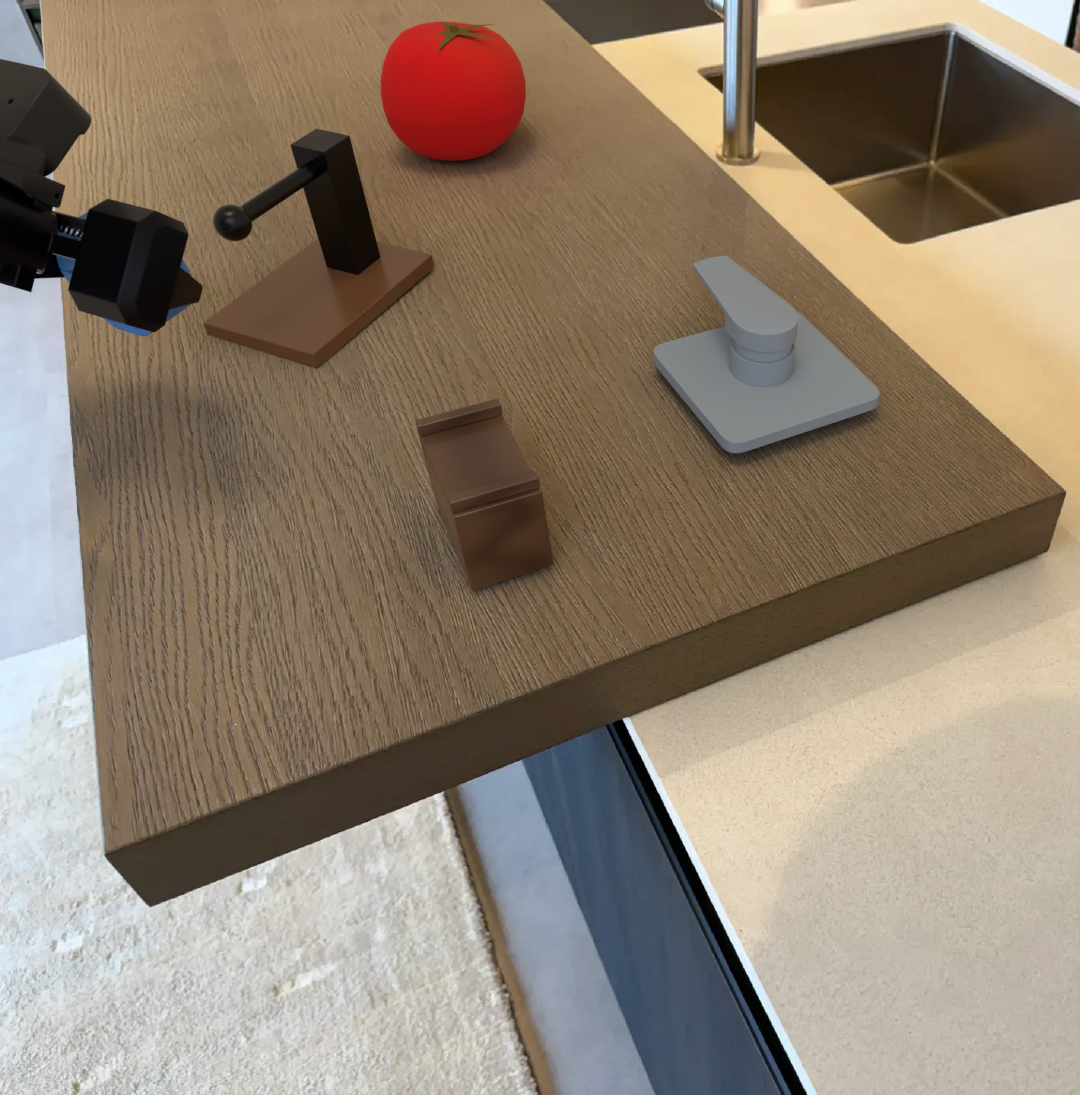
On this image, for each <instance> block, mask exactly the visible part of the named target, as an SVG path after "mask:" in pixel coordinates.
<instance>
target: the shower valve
mask: <svg viewBox="0 0 1080 1095" xmlns="http://www.w3.org/2000/svg"><path fill="white" fill-rule="evenodd" d="M692 269H693V271H694V272H695V274H696V275H697V276H698V278H699V279H700V281H701V282H702V284H703V285H704V286H705V288H706V289H707V291H708V293H710V295H711V297H713V299H714V301H715V302H716V303H717V304H718V306H719V307H720V309H721V310H722V312H723V314H724V325H723V326H720V327H716V328H713V329H709V330H705V331H701V332H698V333H694V334H691V335H687V336H683V337H680V338H675V339H672V340H668V341H665V342H662V343H659V344H658V345H656V346H655V347H654V348H653V351H652V354H653V358H652V359H653V364H654V366H655V367H656V369H657V370H658V371H659V372H660V374H661V375H662V376H663V377H664V378H665V379H666V381H667V382H668V383H669V385H671V387H672V389H674V391H675V392H676V393H677V394H678V395H679V397H680V398H681V400H683V401H684V403H685V404H686V406H688V408H689V409H690V410H691V411H692V413H693V414H694V415H695V416H696V417H697V419H698V420H699V421H700V423H701V424H702V425H703V426H704V427H705V429H706V430H707V431H708V432H709V433H710V435H711V436H712V437H713V438H714V440H715V441H716V442H717V443H718V445H719V446H720V447H721V448H722V449H723V450H724V451H726V452H728V453H730V454H742V453H746V452H750V451H752V450H756V449H758V448H762V447H764V446H767V445H771V444H774V443H777V442H779V441H783V440H786V439H789V438H793V437H795V436H798V435H800V434H804V433H806V432H809V431H813V430H817V429H819V428H822V427H826V426H828V425H831V424H835V423H838V422H840V421H843V420H847V419H850V418H852V417H855V416H859V415H861V414H865V413H868V412H870V411H873V410H875V409H876V408H877V407H878V405H879V401H880V395H881V393H880V390H879V388H878V387H877V386H876V385H875V384H874V382H872V381H871V380H870V379H869V378H868V377H867V376H866V375H865V374H864V373H863V372H862V371H861V370H860V369H859V368H858V367H857V366H856V365H855V364H853V362H852V361H850V360H849V359H848V357H847V356H845V355H844V354H843V353H842V352H841V351H840V349H838V348H837V347H836V346H835V345H834V344H833V342H831V341H830V340H829V339H828V338H827V337H826V336H825V335H823V334H822V332H820V330H818V328H817V327H816V326H814V325H813V324H812V323H811V322H810V321H809V320H808V319H807V318H806V317H805V316H804V315H803V314H802V313H801V312H799V311H797V310H796V309H795V307H794V306H793V305H791V303H789V302H788V301H787V300H786V299H784V298H782V297H781V296H780V295H778V294H777V293H776V292H775V291H773V290H772V289H771V288H769V287H768V286H767V285H765V284H764V283H763V282H762V281H760V280H759V279H758V278H756V277H755V276H754V275H753V274H751V273H750V272H749V271H747V270H746V269H744V268H743V266H741V265H740V264H738V263H737V262H735V261H734V260H733V259H732V258H731V257H729V256H728V255H718V256H712V257H708V258H704V259H702V260H698V261H696V262H694V263H692Z"/></svg>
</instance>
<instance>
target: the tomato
mask: <svg viewBox="0 0 1080 1095" xmlns="http://www.w3.org/2000/svg"><path fill="white" fill-rule="evenodd" d="M494 25H495V23H488V24H472V23H467V22H459V21H458V22H457V21H430V22H423V23H420V24H416V25H413V26H411V27H409V28H407V29H404V30H403V31H401V32H400V33H399V34H398V36H397V37H396V38H395V39H394V40H393V41H392V43H391V44H390V45H389V47H388V49H387V52H386V55H385V57H384V60H383V64H382V69H381V74H380V98H381V104H382V109H383V113H384V115H385V118H386V121H387V123H388V125H389V128H390V129H391V130H392V132H393V133H394V135H395V136H396V137H397V139H398V140H399V141H400V142H401V143H402V144H404V145H405V146H406V147H407V148H408V149H410V151H412V152H414V153H416V154H418V155H421V156H422V157H425V158H428V159H432V160H437V161H449V162H450V161H452V162H455V161H468V160H473V159H476V158H480V157H483V156H485V155H488V154H489V153H491V152H493V151H494V150H496V149H497V148H499V147H500V146H501V145H503V144H504V143H505V141H507V140H508V139H509V138H510V137H511V135H512V134H513V133H514V132H515V131H516V129H517V127H519V124H520V122H521V120H522V118H523V115H524V112H525V107H526V97H527V87H526V86H527V85H526V77H525V74H524V69H523V66H522V62H521V60H520V59H519V57H518V55H517V53H516V51H515V50H514V48H513V47H512V46H511V45H510V43H509V42H508V41H507V40H506V39H505V38H504V37H503V36H502V35H501V34H499V33H497V32H496V31H494V30H493V29H491V28H488V27H487V26H494Z"/></svg>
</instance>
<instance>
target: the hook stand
mask: <svg viewBox="0 0 1080 1095" xmlns="http://www.w3.org/2000/svg"><path fill="white" fill-rule="evenodd" d="M290 149H291V152H292V155H293V158H294V162H295V166H296V169H295V170H294V171H292V172H290V173H289V174H287V175H285V176H284V177H283V178H281V179H279V180H277V181H276V182H275V183H273V184H272V185H270V186H269V187H267V188H266V189H264V190H263V191H260V192H259V193H258V194H257V195H255V196H253V197H252V198H250V199H249V200H247V201H245V202H244V203H243V204H240V205H237V204H231V203H230V204H229V203H228V204H224V205H221V206H219V207H218V208H217V209H216V210H215V212H214V213H213V217H212V224H213V228H214V230H215V231H216V233H217V234H218V235H219V236H220V237H222V239H224V240H227V241H230V242H240V241H243V240H245V239H247V238H248V237H249V236H250V235H251V232H252V230H253V222H254V221H255V220H257V219H259V218H260V217H261V216H263V215H265V214H266V213H267V212H269V211H270V210H272V209H274V208H275V207H277V206H278V205H279V204H281V203H282V202H284V201H285V200H287V199H288V198H290V197H291V196H293V195H294V194H296V193H297V192H299V191H300V190H301V189H303V192H304V195H305V199H306V202H307V205H308V208H309V212H310V216H311V219H312V223H313V226H314V230H315V232H316V236H317V238H316V239H315V240H313V242H311V243H309V244H308V245H307V246H305V247H304V248H303V249H302V250H300V251H298V252H297V253H296V254H295V255H293V256H292V257H291V258H289V259H288V260H287V261H285V262H284V263H282V264H281V265H280V266H278V267H277V268H276V269H274V270H273V271H271V272H270V273H269V274H268V275H266V276H265V277H263V278H262V279H261V280H259V281H258V282H257V283H255V284H254V285H252V286H251V287H250V288H248V289H246V290H245V291H244V292H243V293H242V294H240V295H238V296H237V297H236V298H234V299H233V300H232V301H231V302H228V304H227V305H225V306H224V307H222V308H221V309H220V310H218V311H217V312H216V313H214V314H213V315H212V316H210V317H209V318H207V319H206V320H205V321H203V322H202V325H203V327H204V329H205V332H206V335H207V336H211V337H213V338H216V339H221V340H224V341H227V342H230V343H233V344H237V345H239V346H242V347H246V348H249V349H252V350H256V351H259V352H262V353H265V354H269V355H272V356H275V357H278V358H282V359H285V360H289V361H293V362H295V363H299V364H302V365H306V366H309V367H313V368H319V367H321V366H322V365H323V364H324V363H326V361H328V360H329V359H330V358H331V357H332V356H334V355H335V353H337V352H338V351H339V350H341V348H343V347H344V346H345V345H346V344H347V343H348V342H350V341H351V340H352V339H353V338H354V337H355V336H356V335H358V334H359V333H360V332H362V330H364V329H365V328H366V327H367V326H368V325H370V324H371V323H372V322H373V321H374V320H375V319H377V317H379V316H380V315H381V314H382V313H383V312H384V311H385V310H387V309H388V308H389V307H391V305H393V304H394V303H395V302H396V301H397V300H398V299H400V298H401V297H402V296H403V295H404V294H405V293H407V291H409V290H410V289H411V288H412V287H414V286H415V285H416V284H417V283H418V282H419V281H420V280H422V279H423V278H424V277H425V276H426V275H428V274H429V272H431V271H432V270H433V269H434V268H435V265H434V260H433V259H434V258H433V255H432V254H429V253H427V252H422V251H417V250H415V249H410V248H406V247H402V246H399V245H394V244H390V243H385V242H383V241H377V237H376V234H375V230H374V225H373V221H372V218H371V214H370V210H369V206H368V203H367V198H366V194H365V191H364V187H363V183H362V179H361V176H360V171H359V167H358V163H357V159H356V155H355V151H354V148H353V144H352V139H351V136H350V135H349V134H343V133H340V132H336V131H335V132H334V131H330V130H325V129H322V128H321V129H320V128H315V129H313V130H311V131H310V132H308V133H306V134H305V135H304V136H302V137H300V138H298V139H297V140H295V141H293V142H292V143H291V144H290Z"/></svg>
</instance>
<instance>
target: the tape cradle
mask: <svg viewBox="0 0 1080 1095" xmlns="http://www.w3.org/2000/svg"><path fill="white" fill-rule="evenodd" d="M503 413H504V412H503V408H502V404H501V402H500V400H499V399H498V398H494V399H491V400H487V401H483V402H479V403H475V404H472V405H467V406H463V407H460V408H457V409H453V410H448V411H445V412H441V413H437V414H433V415H429V416H425V417H422V418H418V419H415V421H414V422H415V425H416V426H415V427H416V431H417V435H418V440H419V442H420V447H421V450H422V454H423V459H424V462H425V466H426V470H427V473H428V477H429V481H430V485H431V488H432V493H433V496H434V500H435V503H436V506H437V508H438V510H439V513H440V516H441V518H442V520H443V522H444V525H445V528H446V530H447V533H448V535H449V538H450V541H451V544H452V545H453V547H454V551H455V552H456V555H457V557H458V560H459V563H460V565H461V567H462V571H463V573H464V575H465V577H466V580H467V583H468V585H469V587H470V591H476V590H479V589H483V588H485V587H488V586H491V585H494V584H498V583H500V582H505V581H507V580H510V579H514V578H517V577H520V576H522V575H527V574H529V573H533V572H535V571H539V570H542V569H545V568H547V567H551V566H553V565H554V559H553V553H552V545H551V540H550V534H549V528H548V521H547V520H548V519H547V515H546V514H547V513H546V508H545V501H544V495H543V491H542V489H541V484H540V478H539V476H538V474H537V472H536V470H532V469H531V467H530V465H529V463H528V461H527V459H526V458H525V455H524V454H523V452H522V449H521V448H520V446H519V443H518V441H517V439H516V438H515V436H514V434H513V432H512V430H511V428H510V426H509V424H508V422H507V421H506V418H505V416H504V414H503Z"/></svg>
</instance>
